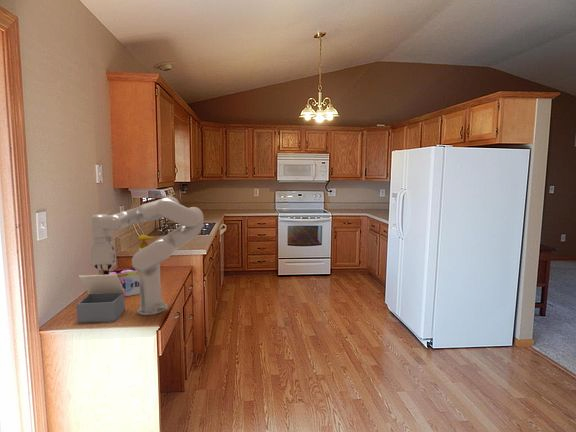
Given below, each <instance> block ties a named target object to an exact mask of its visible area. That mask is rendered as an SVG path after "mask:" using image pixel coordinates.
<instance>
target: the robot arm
mask: <svg viewBox="0 0 576 432" xmlns="http://www.w3.org/2000/svg"><path fill="white" fill-rule="evenodd" d="M161 218H165V219H167V220H169V221H171V222H174V223H176V224H179V225H180V226H178V227H176V228H175V229H174V230H173V231H170V232H169V233H167V234H166V235H163V236H160V237H159V238H158V239H156V240H155V241H152V242H151V243H150V244H148V246H147V247H144V248H143V249H141V250H140V251H139V250H138V251H137V252H135V253H134V254H133V256H132V258H131V266H132V268H134V269H136V270H137V271H139V286H140V294H139V299H140V300H139V301H140V307H139V308H137V313H138V314H139V315H141V316H154V315H157V314H161V313H162V312H164V311H165V310H168V308H169V307H168V306H169V304H168V303H164V300H162V290H161V289H162V287H161V263H162V262H164V261H165V260H168V258H170V257H171V256H172V255H173V254H175V252H176V251H178V250H179V249H180V248H182V247H183V246H185V245H186V244H188V243H189V242H190V241H192V240H193V239H195V238H196V237H197V236H198V235H199V234H200V232H201V230H202V228H203V225H204V220H205V219H204V213H203V211H202V210H201V209H200V208H199V207H197V206H191V207H186V206H185V205H183V204H180V202H179V200H178V199H177V198H176V197H174V196H166V197H163V198H159V199H157V200H153V201H151V202H150V201H149V202H146V203H143V204H141V205H139V206H137V207H134V208H130V209H128V210H124V211H121V212H117V213H113V214H110V215H109V214H105V213H99V214H92V216H91V218H90V219H91V232H92V243H91V248H90V264H89V265H90V267H93V268H96V270H97V271H98V274H99V273H100V270H101V268H103V265H104V268H103V269H104V275H109V271H110V269H111V267H115V266H117V259H116V258H117V255H116V250H115V246H114V242H112V241H114V239H115V238H114V237H112V236H111V231H113V232H114V231H119V230H122V229H124V228H127V227H129V226H133V225H137V224H140V223H145V222H146V223H148V222H151V221H155V220H159V219H161Z"/></svg>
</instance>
